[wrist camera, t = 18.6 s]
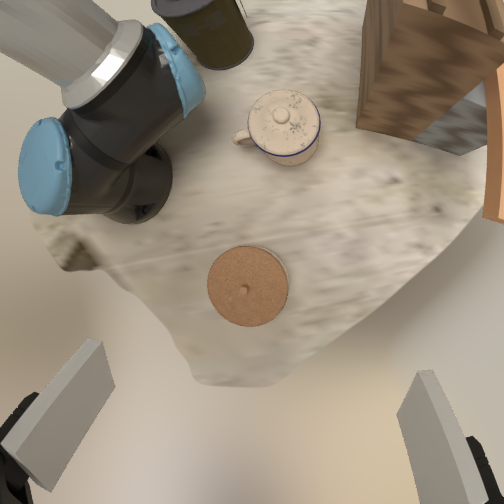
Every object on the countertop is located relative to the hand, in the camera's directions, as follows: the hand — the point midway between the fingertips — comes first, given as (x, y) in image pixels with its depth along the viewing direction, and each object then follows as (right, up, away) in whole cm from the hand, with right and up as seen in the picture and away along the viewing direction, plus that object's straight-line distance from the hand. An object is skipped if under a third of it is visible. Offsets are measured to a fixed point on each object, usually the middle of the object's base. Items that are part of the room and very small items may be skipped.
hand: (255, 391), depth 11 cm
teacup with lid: (+4, +22, +33) cm, 40 cm away
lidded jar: (+1, +2, +36) cm, 36 cm away
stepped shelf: (+26, +32, +27) cm, 49 cm away
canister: (-5, +41, +32) cm, 52 cm away
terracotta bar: (+25, +23, +8) cm, 35 cm away
